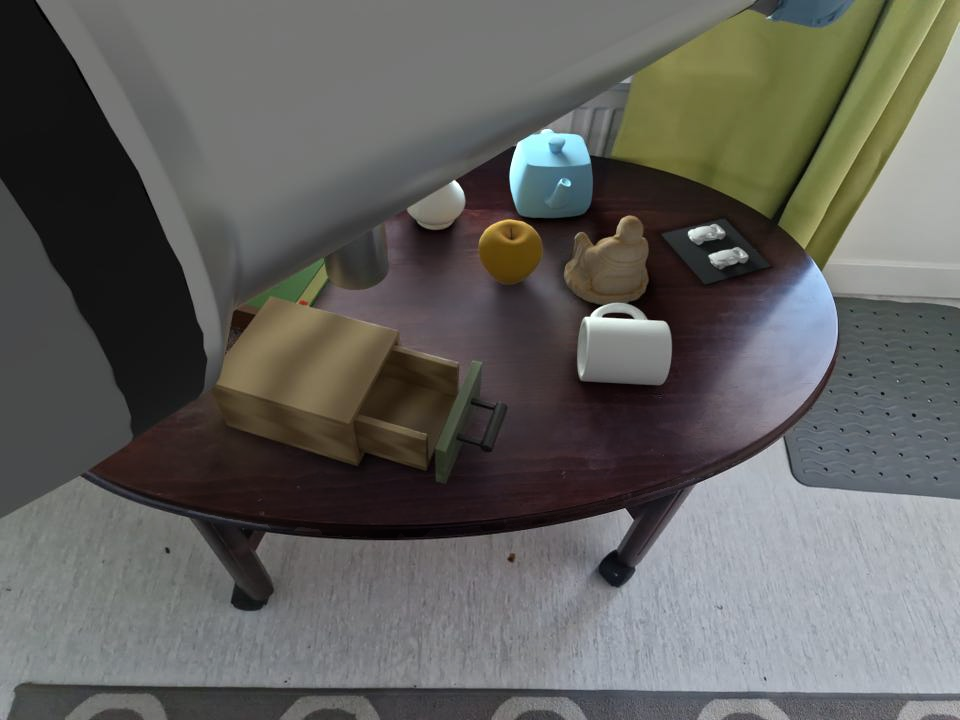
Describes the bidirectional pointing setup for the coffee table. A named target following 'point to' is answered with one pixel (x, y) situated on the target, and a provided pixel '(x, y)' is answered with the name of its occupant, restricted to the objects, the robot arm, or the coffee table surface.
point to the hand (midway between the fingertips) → (308, 181)
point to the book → (286, 293)
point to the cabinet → (303, 377)
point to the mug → (623, 347)
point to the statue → (610, 265)
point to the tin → (360, 261)
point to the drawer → (423, 412)
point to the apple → (510, 251)
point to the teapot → (551, 176)
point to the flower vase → (439, 207)
